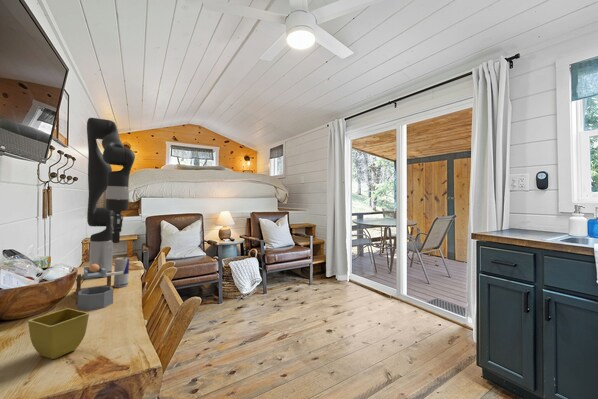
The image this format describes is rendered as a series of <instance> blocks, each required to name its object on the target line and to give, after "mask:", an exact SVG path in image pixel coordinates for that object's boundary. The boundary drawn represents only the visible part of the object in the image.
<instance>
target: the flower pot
mask: <svg viewBox="0 0 598 399" xmlns="http://www.w3.org/2000/svg"><path fill="white" fill-rule="evenodd" d="M89 316H90V312H86V311H84V310H83V311H81V310H79V309H77V310H76V309H73V308H68V307H65V308H64V309H60V310H57V311H54V312H51V313H47V314H44V315H41V316H37V317H34V318H30V319H28V321H27V322H28V323H27V324H28V331H29V337H30V341H31V343H32V344H31V345H32V346H33V348H34V350H35V351H36V352H37V353H38V354H39V355H40V356H42V357H45V358H48V359H51V360H54V359H55V360H56V359H57V358H60V357H62V356H64V355H66V354H68V353H71V352H73V351H76V349H77V348H78V347H79V346H80V344H81V343H82V342H83V340H84V338H85V336H86V333H87V327H88V322H89Z"/></svg>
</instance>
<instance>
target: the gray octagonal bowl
mask: <svg viewBox="0 0 598 399" xmlns="http://www.w3.org/2000/svg"><path fill="white" fill-rule="evenodd" d="M98 286H99V287H95V286H90V287H91V288H88V287H86V288H87V289H84V290H81V291H78V304H77V310H79V311H81V310H83V311H92V310H99V309H104V308H107V307H108V306H111V305H112V304H113V303H114V288H113V287H114V286H111V287H109V286H103V285H98Z"/></svg>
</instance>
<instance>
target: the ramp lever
mask: <svg viewBox="0 0 598 399" xmlns="http://www.w3.org/2000/svg"><path fill="white" fill-rule="evenodd" d="M119 274H123V271H121V272H114V271H112V273H106V270H105V269H104V268H103V265H102V266H99V270H98V271H97V272H95V273H92V272H90V271H89V266H84V267H83V274H82V273H81V279H82V278H83V280H90V279H91V280H92V279H99V278H100V279H101V278H105V277H104V276H110V275H111V276H114V275H119Z"/></svg>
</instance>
